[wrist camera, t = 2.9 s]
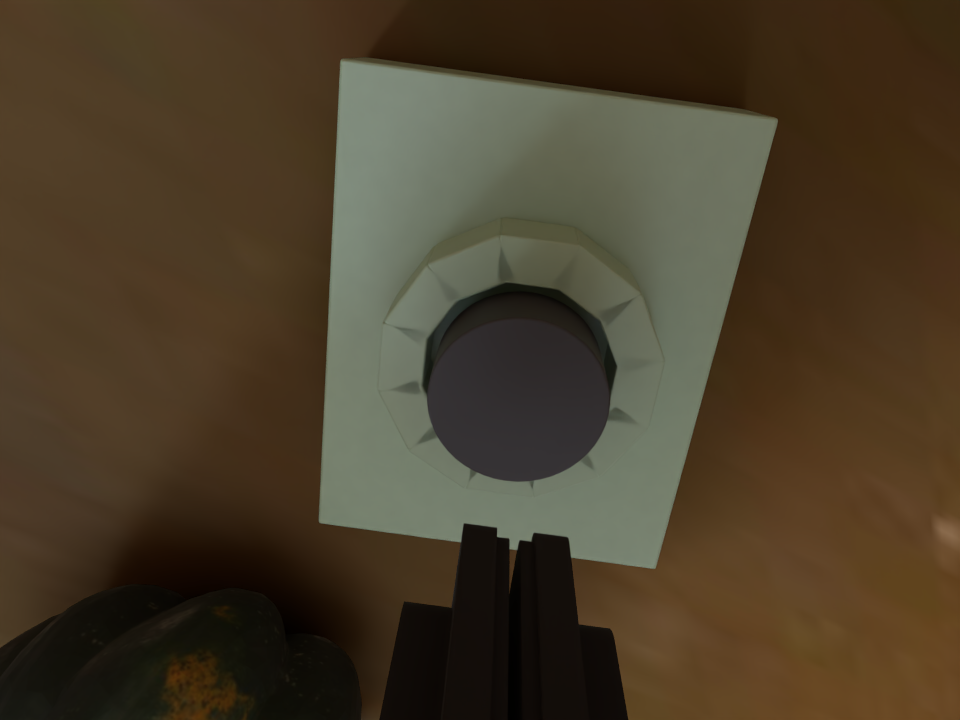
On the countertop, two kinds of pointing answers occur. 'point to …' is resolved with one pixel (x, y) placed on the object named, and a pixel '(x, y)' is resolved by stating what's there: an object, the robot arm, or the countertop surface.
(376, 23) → the countertop surface
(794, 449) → the countertop surface
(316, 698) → the squash
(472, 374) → the button
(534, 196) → the knob plate
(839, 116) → the countertop surface
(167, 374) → the countertop surface
